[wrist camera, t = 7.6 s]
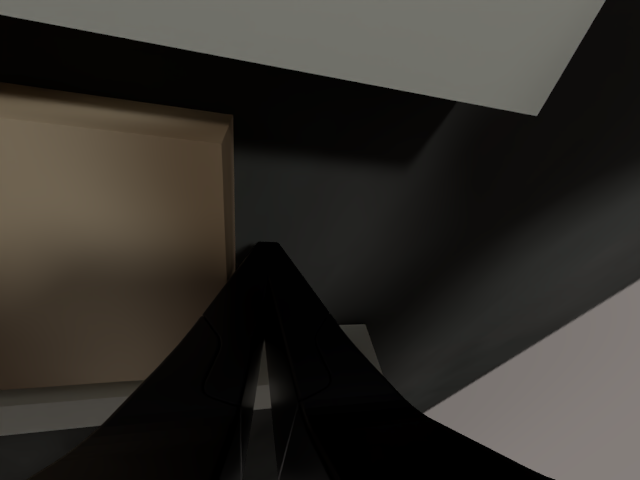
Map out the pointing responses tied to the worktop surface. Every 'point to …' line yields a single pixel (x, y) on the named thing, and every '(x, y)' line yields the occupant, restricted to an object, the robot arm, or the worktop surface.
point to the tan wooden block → (107, 233)
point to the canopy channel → (332, 61)
